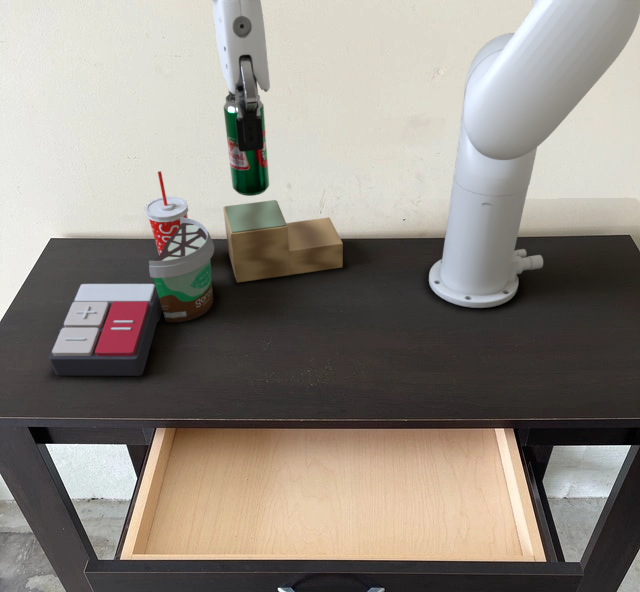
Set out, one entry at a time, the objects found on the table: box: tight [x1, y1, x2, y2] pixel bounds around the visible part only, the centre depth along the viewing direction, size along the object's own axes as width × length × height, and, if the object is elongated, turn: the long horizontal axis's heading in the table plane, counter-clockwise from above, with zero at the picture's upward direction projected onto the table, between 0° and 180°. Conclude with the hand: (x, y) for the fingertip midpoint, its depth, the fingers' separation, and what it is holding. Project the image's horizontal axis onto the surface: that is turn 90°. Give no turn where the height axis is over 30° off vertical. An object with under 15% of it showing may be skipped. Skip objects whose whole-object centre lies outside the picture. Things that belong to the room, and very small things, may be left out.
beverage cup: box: [144, 170, 189, 256], centre depth 95 cm, size 6×6×14 cm
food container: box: [148, 217, 215, 323], centre depth 89 cm, size 12×6×10 cm, turn 168°
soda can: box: [223, 93, 270, 197], centre depth 86 cm, size 5×5×12 cm
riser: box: [222, 199, 344, 283], centre depth 97 cm, size 16×8×8 cm, turn 104°
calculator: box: [48, 283, 163, 377], centre depth 86 cm, size 11×4×15 cm
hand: (247, 139), depth 86 cm, fingers closed on soda can, 5 cm apart
